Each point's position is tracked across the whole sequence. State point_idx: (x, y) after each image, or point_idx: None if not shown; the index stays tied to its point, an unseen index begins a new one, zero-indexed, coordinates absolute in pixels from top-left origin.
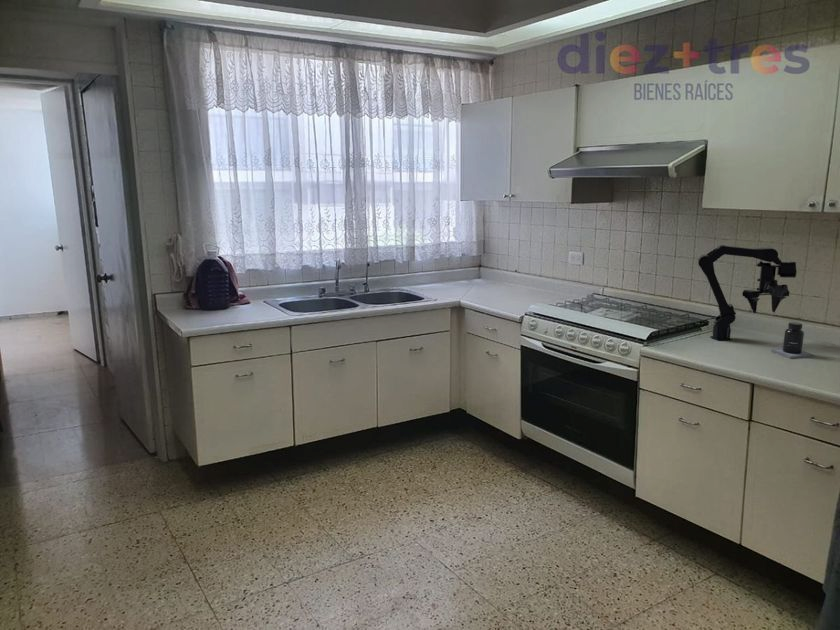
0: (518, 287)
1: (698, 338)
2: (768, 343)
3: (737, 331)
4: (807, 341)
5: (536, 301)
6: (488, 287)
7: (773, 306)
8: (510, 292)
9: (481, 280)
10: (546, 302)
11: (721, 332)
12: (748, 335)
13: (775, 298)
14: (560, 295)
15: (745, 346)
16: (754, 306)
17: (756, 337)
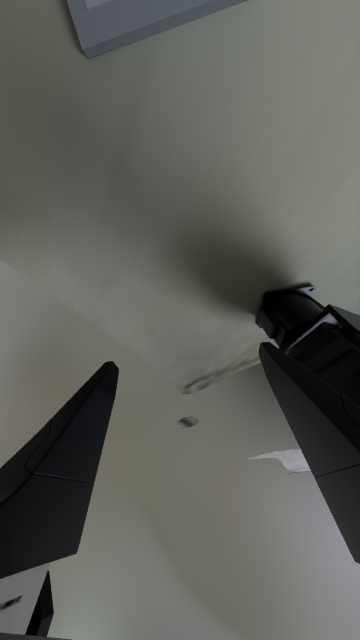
0: (292, 464)
1: None
2: (169, 242)
3: (187, 361)
4: (23, 265)
5: None
6: None
7: (101, 406)
8: None
9: (300, 470)
10: None
11: (316, 306)
12: (181, 334)
13: (45, 516)
14: (282, 456)
15: (295, 189)
16: (337, 391)
17: (171, 316)
